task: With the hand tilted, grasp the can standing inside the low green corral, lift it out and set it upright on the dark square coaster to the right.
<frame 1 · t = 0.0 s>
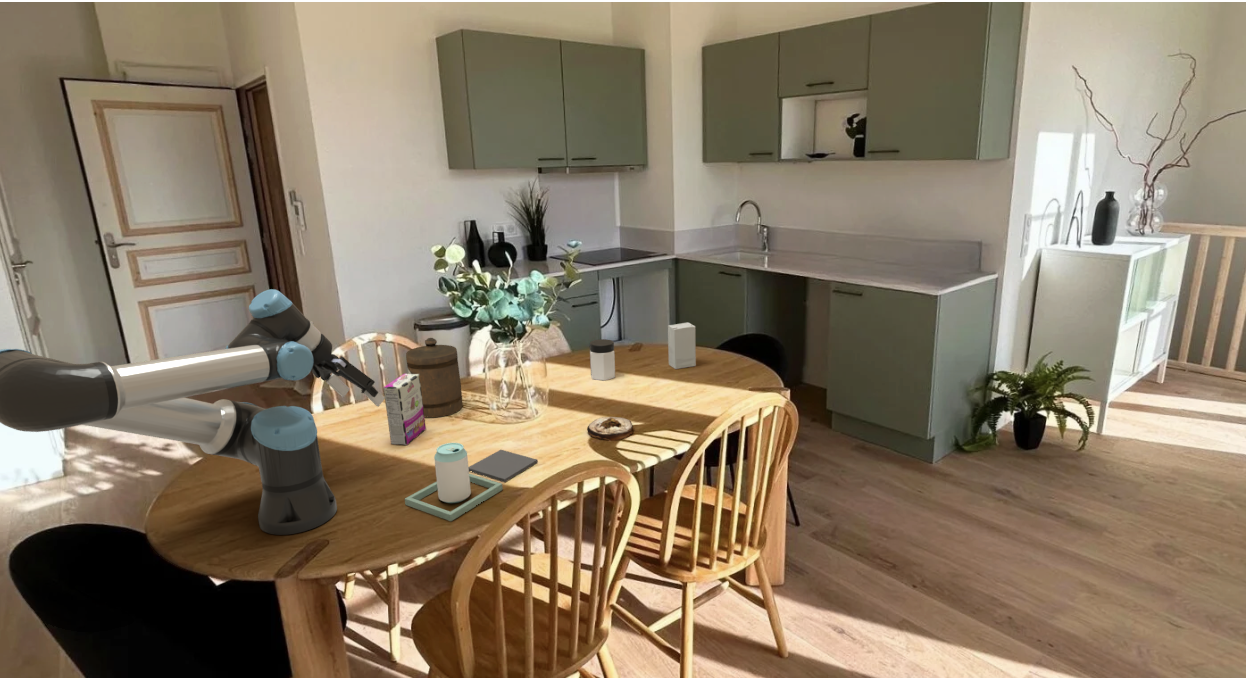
hand: (363, 397, 174), 15 cm above the table, tool tilted 35°, fingers open, 13 cm apart
wooden container: (437, 409, 208), on the table
jar: (602, 377, 234), on the table
candy bar box: (408, 437, 188), on the table
coaster: (502, 466, 169), on the table
corral: (454, 497, 154), on the table
sushi roll: (610, 433, 188), on the table
skincare box: (681, 366, 243), on the table
can: (455, 498, 155), resting in corral
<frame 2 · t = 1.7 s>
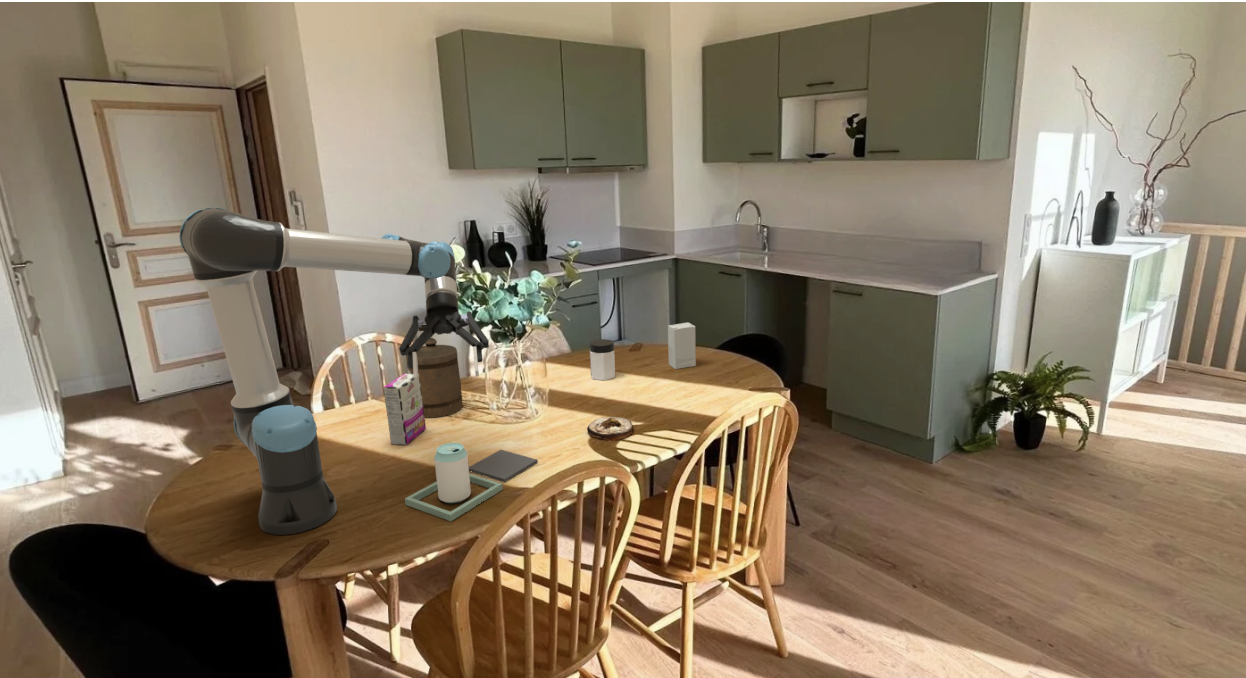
hand: (446, 377, 158), 25 cm above the table, tool tilted 45°, fingers open, 13 cm apart
nothing on the table moved.
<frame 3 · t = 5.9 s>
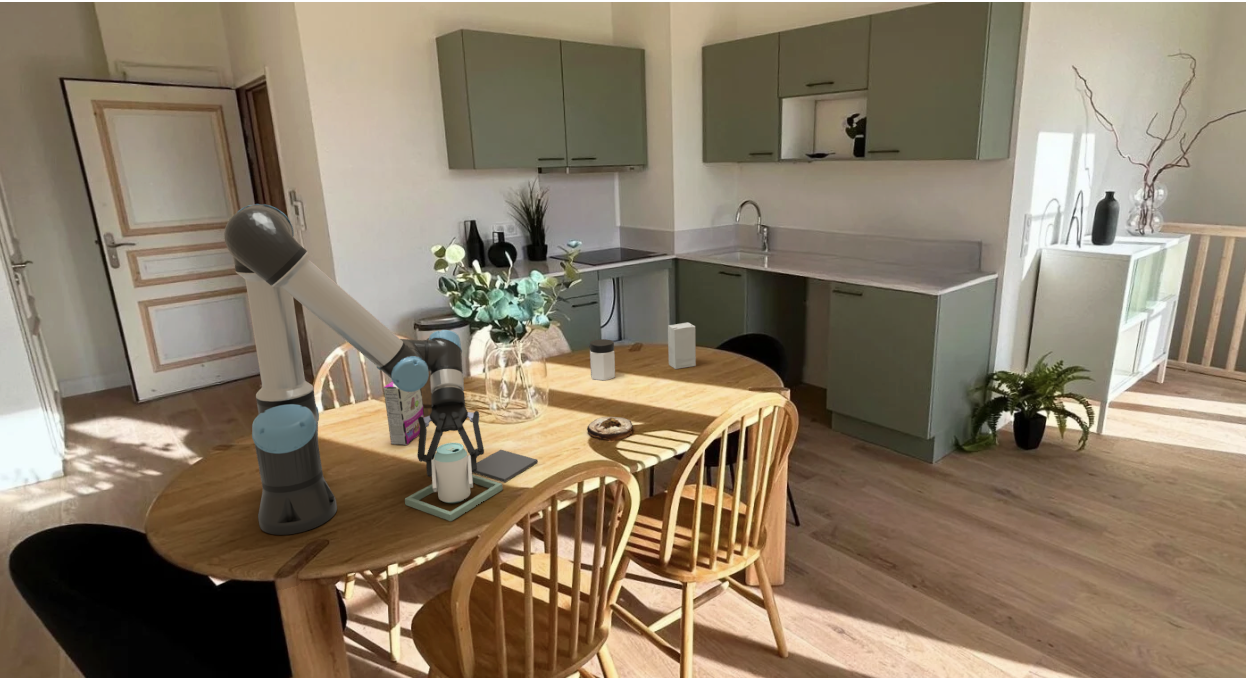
hand: (453, 487, 150), 4 cm above the table, tool tilted 45°, fingers closed on can, 7 cm apart
can: (454, 498, 155), resting in corral, touching gripper
everything else where it was.
when the fingers open (6 cm above the table, at t = 10.9 s): can stays where it is, resting on coaster.
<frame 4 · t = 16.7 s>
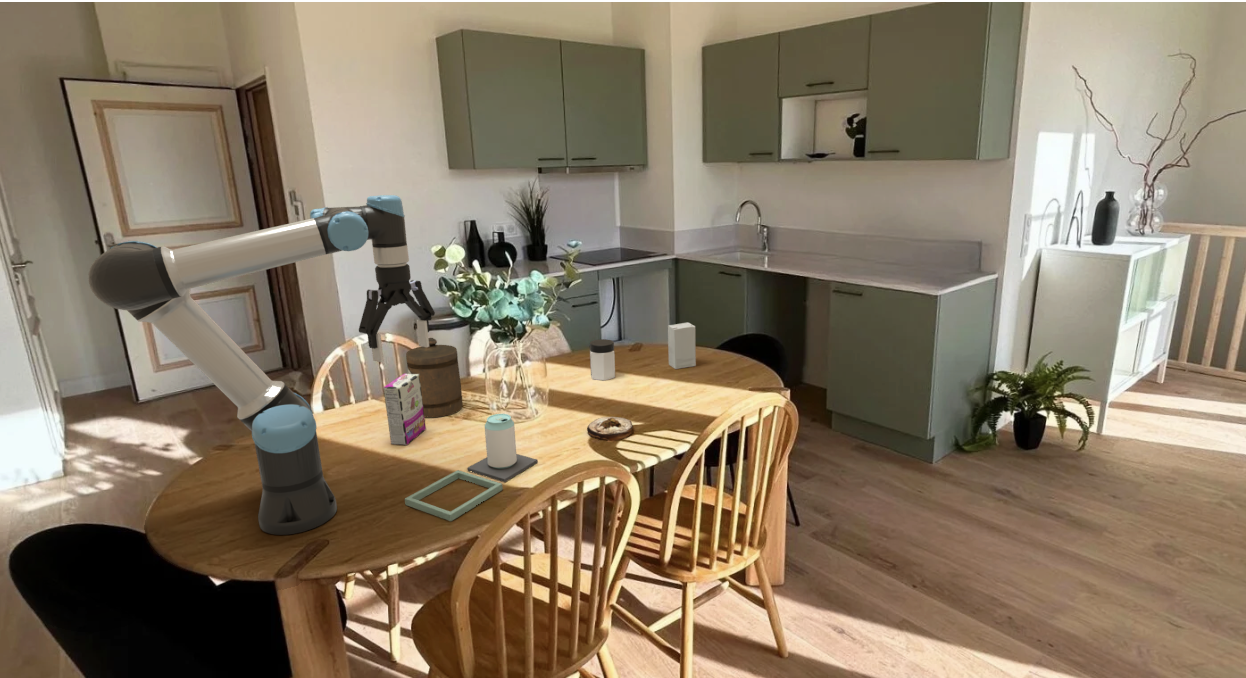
hand: (402, 353, 163), 29 cm above the table, tool pointing down, fingers open, 13 cm apart
can: (502, 464, 169), point 1 cm above the table, touching coaster
everything else where it was.
at the end: can inside the target area on the coaster (0.1 cm from its centre), point 0.6 cm above the coaster's base; can tilted 0°; the gripper is holding nothing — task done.
